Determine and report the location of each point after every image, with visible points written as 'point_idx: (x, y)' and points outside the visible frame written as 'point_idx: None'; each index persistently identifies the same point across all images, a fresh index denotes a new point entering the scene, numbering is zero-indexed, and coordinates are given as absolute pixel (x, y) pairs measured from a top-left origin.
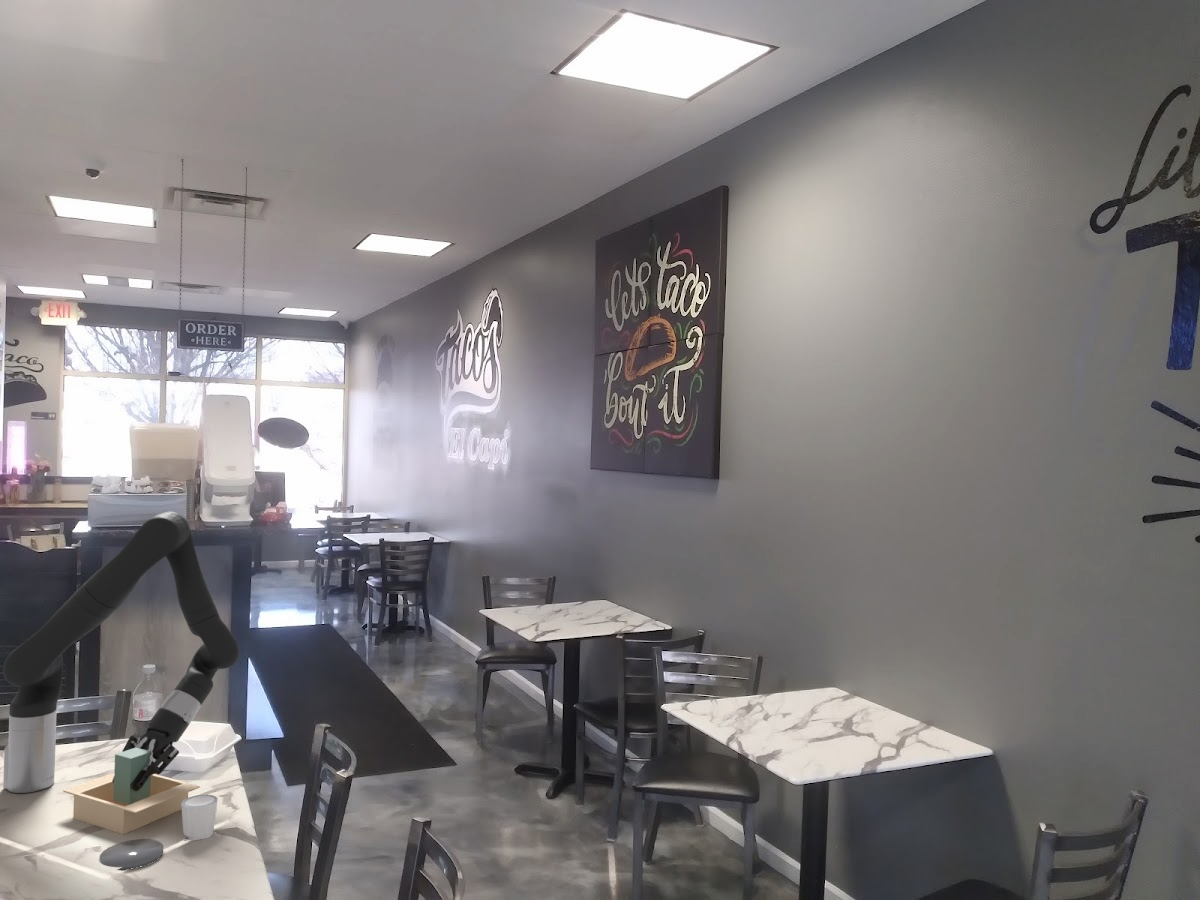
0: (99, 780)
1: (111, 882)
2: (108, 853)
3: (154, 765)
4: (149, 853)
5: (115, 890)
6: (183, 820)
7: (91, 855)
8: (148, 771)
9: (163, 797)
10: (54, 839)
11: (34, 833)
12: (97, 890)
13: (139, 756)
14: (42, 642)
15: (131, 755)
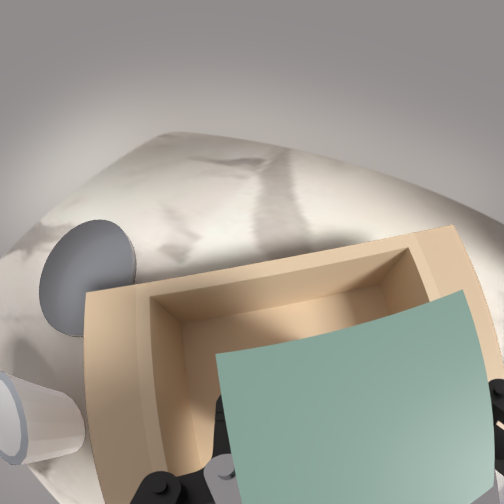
0: (481, 339)
1: (61, 218)
2: (111, 240)
3: (148, 494)
4: (51, 288)
5: (46, 214)
6: (35, 385)
7: (156, 231)
8: (203, 470)
9: (111, 429)
10: (304, 212)
11: (367, 200)
12: (64, 199)
13: (234, 464)
14: None
15: (323, 411)
